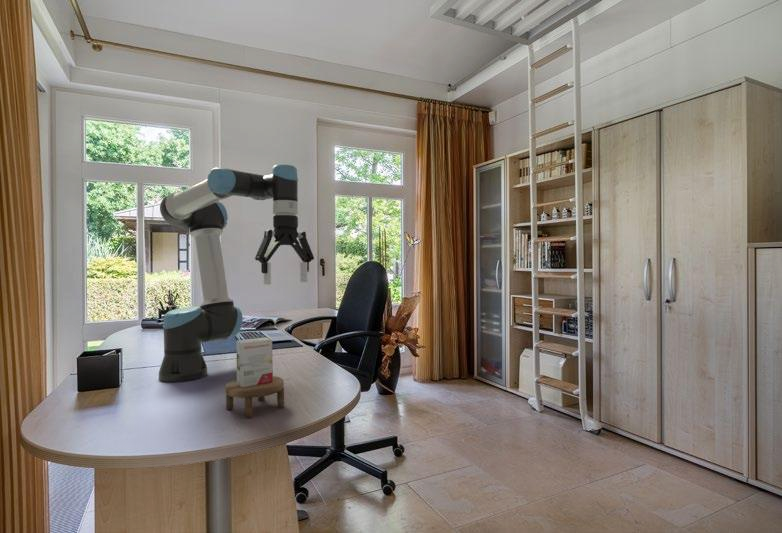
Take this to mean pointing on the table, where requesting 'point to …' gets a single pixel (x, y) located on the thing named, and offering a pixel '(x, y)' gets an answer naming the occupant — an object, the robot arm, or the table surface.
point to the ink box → (254, 361)
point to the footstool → (254, 393)
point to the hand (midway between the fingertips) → (286, 283)
